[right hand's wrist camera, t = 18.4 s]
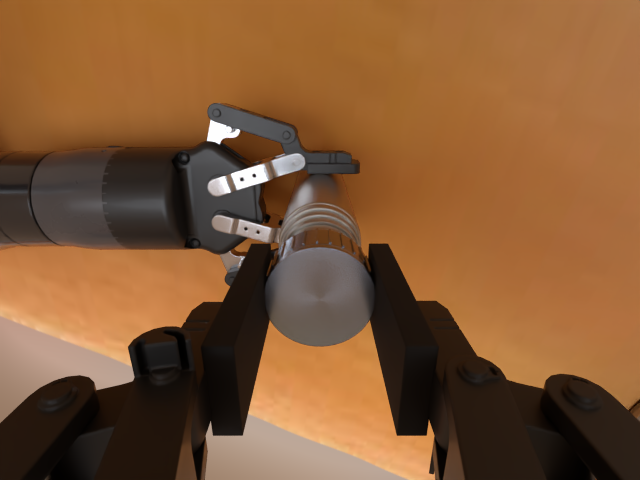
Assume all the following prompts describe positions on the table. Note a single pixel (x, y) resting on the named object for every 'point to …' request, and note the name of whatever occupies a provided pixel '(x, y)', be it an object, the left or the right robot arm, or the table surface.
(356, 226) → the bottle
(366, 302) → the cap
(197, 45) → the table surface
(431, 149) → the table surface
